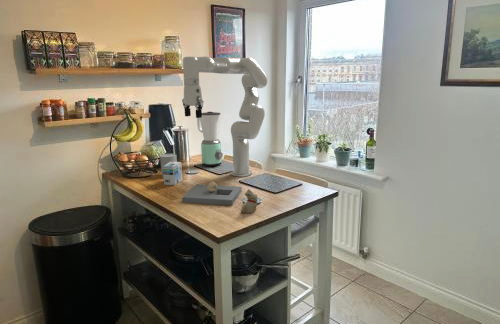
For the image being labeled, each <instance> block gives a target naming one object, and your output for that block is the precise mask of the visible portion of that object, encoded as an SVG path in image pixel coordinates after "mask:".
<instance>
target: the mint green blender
mask: <svg viewBox="0 0 500 324" xmlns="http://www.w3.org/2000/svg"><path fill="white" fill-rule="evenodd" d="M220 120H221V112H216V111H215V112H213V111H207V112H202V117H201V118H196V121H197V122H196V123H197V130H198V131H199V133H202V135H203V136H202V137H203V140H202V141H201V143H200V145H201V146H200V152H201V153H200V155H201V165H202V166H203V165H205V166H207V167H211V166H214V167H215V166H219V164H221V165H222V158H223V156H224V154H223V152H222V144H221V140H220V139H218V138H219V132H220V131H219V129H220V122H221V121H220Z"/></svg>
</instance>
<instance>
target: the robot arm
mask: <svg viewBox="0 0 500 324" xmlns="http://www.w3.org/2000/svg"><path fill="white" fill-rule="evenodd" d="M182 72H183V86H184V87H183V98H182V99H181V102H182V105H183V109H184V117H191V116H192V115H191V108H190V107H191V106H192V107H193V106H194V107H195V118H196V119H197V118H201V117H202V113H203V112H202V110H203V108H204V102H205V101H204V100H203V96H202V87H201V85H200V73H211V74H212V73H213V74H223V75H229V74H231V75H242V76H241V85H242V87H243V90H244V98H243V101H242V103H241V107H240V109H239V112H238V116H239V118H240V119H241V121H239V120H238V121H234V122H233V123H232V124H231V126H230V135H231V139H232V161H233V163H232V167H233V170H231V171H230V175H231V176H233V177H238V178H239V177H240V178H242V177H249V176H251V175H252V174H253V172H252V170H251V169H250V144H249V140H255V139H256V138H257V137H258V136H259V133H260V130H261V128H262V125H263V122H264V119H265V115H266V114H265V109H264V106H261V105H259V104H258V103H259V100H260V95H259V92H258V90H257V89H264V88H265V87H266V86H267V84H268V76H267V75H266V73H265V72H264V70H263V69H262V67H261V66H260V65H259V64H258V62H257V61H256V60H255V59H253V58H252V57H228V56H227V57H226V56H224V57H223V56H221V57H220V56H219V57H210V56H184V57H183V58H182ZM242 120H243V121H242Z"/></svg>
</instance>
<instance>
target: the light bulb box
mask: <svg viewBox="0 0 500 324" xmlns="http://www.w3.org/2000/svg"><path fill="white" fill-rule="evenodd" d="M182 167H183V166H182V162H181V161H177V162H169V163H167V164H166V165H164V166H163V174H164V177H163V183H164V186H165V185H167V186H176V185H177V184H179V183H180V182H182V181H183V169H182Z"/></svg>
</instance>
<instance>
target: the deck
mask: <svg viewBox="0 0 500 324" xmlns="http://www.w3.org/2000/svg"><path fill="white" fill-rule="evenodd" d="M242 192H243V190H242V186H241V185H240V186H239V185H237V186H236V185H218V184H217V189H216V191H214V192H210V191H208V189H207V184H195V185H194V186H193V187H192V188H191V189H190V190H188V192H186V193H185V194H184V195H182V197H181V198H182V203H188V204H189V203H191V204H205V205H206V204H207V205H222V206H233V205H234V203H235V202H236V200H237V199H238V197H239V196H240V194H242Z"/></svg>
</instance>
